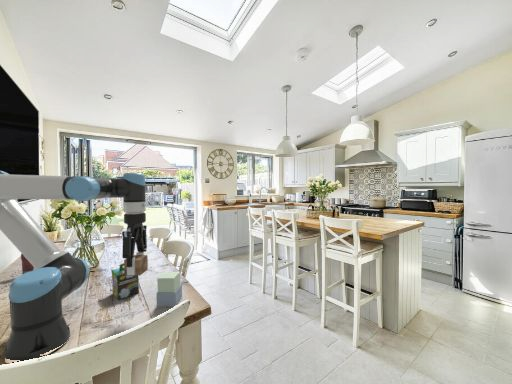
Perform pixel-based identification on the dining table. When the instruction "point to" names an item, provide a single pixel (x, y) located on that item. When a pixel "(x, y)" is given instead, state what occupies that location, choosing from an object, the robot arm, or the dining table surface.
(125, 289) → the chalk box
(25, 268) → the can
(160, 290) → the sage block
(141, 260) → the walnut block
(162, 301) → the slate block
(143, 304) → the dining table surface
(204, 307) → the dining table surface
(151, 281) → the dining table surface
